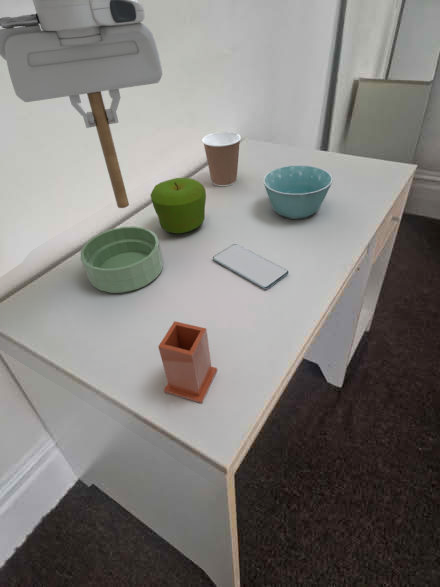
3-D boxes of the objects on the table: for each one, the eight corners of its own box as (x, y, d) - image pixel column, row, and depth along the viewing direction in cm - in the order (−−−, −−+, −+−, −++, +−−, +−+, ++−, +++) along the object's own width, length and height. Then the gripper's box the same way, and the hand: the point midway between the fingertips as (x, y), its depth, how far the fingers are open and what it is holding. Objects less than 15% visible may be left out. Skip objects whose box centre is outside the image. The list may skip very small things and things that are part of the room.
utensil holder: (164, 392, 54) (151, 348, 47) (181, 360, 58) (172, 317, 51) (202, 403, 52) (194, 360, 45) (217, 370, 56) (212, 326, 50)
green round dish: (74, 287, 74) (63, 262, 70) (115, 245, 84) (109, 222, 80) (140, 301, 69) (133, 276, 65) (175, 255, 79) (171, 231, 76)
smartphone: (266, 288, 68) (211, 257, 77) (266, 291, 69) (211, 259, 77) (290, 271, 72) (235, 243, 80) (289, 273, 72) (235, 245, 81)
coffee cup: (227, 170, 111) (225, 129, 104) (249, 181, 105) (248, 137, 97) (199, 181, 107) (194, 138, 99) (220, 192, 101) (216, 148, 93)
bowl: (263, 227, 86) (264, 194, 80) (262, 196, 97) (262, 165, 92) (333, 226, 84) (338, 192, 79) (323, 194, 96) (326, 163, 90)
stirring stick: (115, 207, 65) (83, 93, 53) (121, 202, 66) (92, 89, 54) (125, 208, 64) (95, 93, 52) (131, 203, 65) (103, 90, 54)
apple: (191, 245, 82) (185, 198, 75) (146, 234, 87) (136, 189, 79) (217, 218, 90) (213, 174, 83) (175, 210, 95) (168, 167, 87)
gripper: (-19, 20, 43) (29, 142, 52) (155, 3, 47) (171, 118, 56) (-12, 17, 47) (31, 130, 56) (145, 2, 52) (162, 109, 61)
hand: (102, 124), depth 56 cm, fingers closed on stirring stick, 2 cm apart
